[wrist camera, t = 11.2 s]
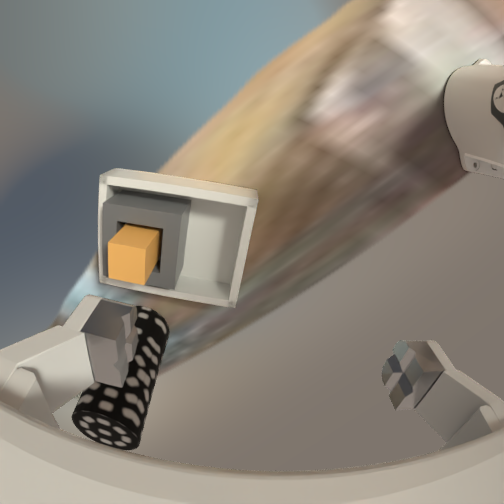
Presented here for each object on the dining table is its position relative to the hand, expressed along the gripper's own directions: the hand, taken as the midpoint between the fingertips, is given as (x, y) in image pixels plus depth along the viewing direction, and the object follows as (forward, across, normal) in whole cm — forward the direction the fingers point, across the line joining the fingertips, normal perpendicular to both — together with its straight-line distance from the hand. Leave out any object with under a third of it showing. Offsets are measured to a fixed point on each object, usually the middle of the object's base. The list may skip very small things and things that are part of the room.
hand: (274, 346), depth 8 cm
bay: (+29, +8, +9) cm, 31 cm away
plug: (+26, +11, +9) cm, 29 cm away
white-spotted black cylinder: (+29, +12, +26) cm, 41 cm away
